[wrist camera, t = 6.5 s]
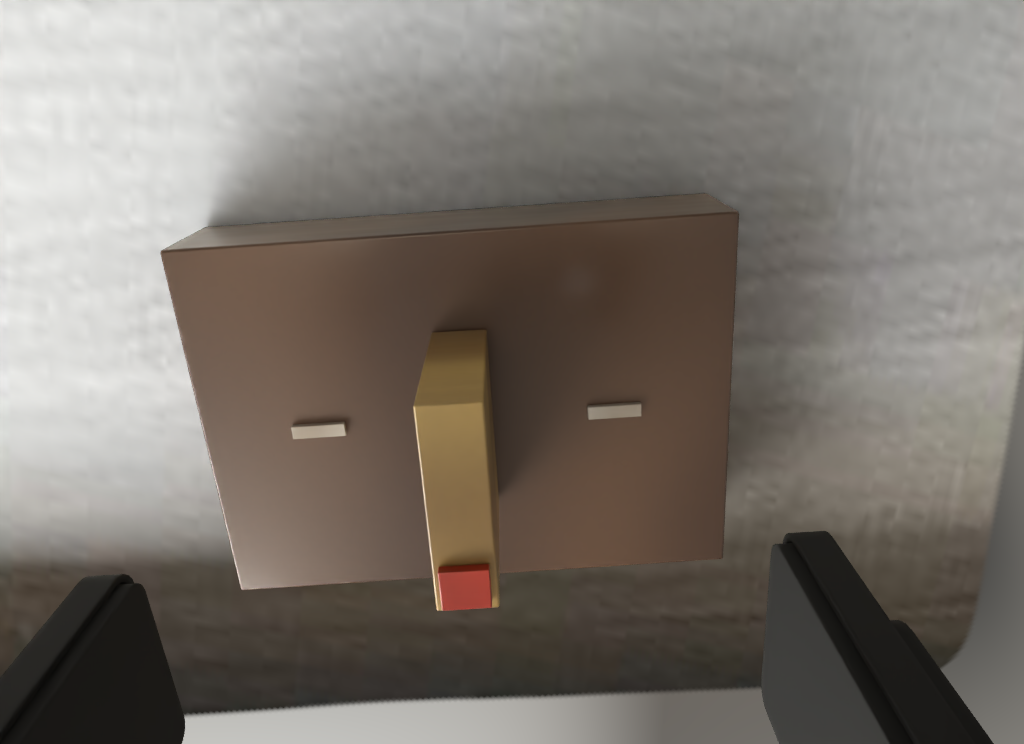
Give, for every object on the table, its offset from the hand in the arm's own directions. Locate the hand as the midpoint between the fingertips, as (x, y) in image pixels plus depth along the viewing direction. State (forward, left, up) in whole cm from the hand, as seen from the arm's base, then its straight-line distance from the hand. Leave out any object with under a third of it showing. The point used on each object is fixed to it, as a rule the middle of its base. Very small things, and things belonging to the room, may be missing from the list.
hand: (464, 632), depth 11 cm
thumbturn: (0, +1, -9) cm, 9 cm away
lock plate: (0, +1, -12) cm, 12 cm away
